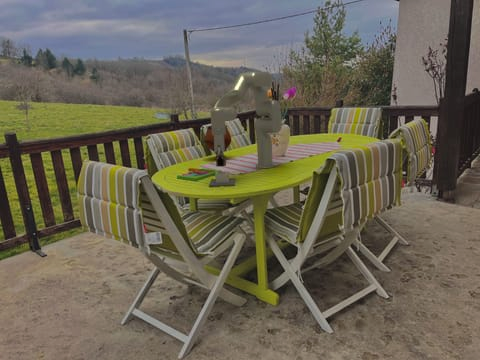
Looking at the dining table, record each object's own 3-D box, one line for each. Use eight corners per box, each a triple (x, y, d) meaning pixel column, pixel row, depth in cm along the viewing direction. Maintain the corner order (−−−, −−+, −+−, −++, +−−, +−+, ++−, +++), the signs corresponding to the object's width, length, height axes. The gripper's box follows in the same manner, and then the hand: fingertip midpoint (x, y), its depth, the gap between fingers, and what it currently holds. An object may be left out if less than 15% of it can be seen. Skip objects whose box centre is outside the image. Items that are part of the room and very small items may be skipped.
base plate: (211, 180, 214) (211, 179, 213) (235, 179, 213) (235, 177, 213) (208, 187, 200) (208, 185, 200) (234, 185, 199) (234, 184, 199)
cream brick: (216, 180, 209) (216, 172, 208) (229, 180, 209) (228, 171, 207) (216, 182, 204) (215, 174, 203) (228, 182, 204) (228, 173, 203)
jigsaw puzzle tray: (221, 174, 232) (193, 170, 247) (221, 170, 231) (193, 167, 246) (195, 182, 215) (167, 177, 230) (195, 178, 214) (166, 174, 229)
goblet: (202, 160, 278) (199, 126, 272) (224, 156, 288) (221, 124, 282) (214, 163, 262) (211, 128, 256) (237, 159, 272) (235, 125, 266)
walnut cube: (217, 164, 207) (216, 155, 205) (226, 164, 206) (225, 155, 205) (216, 166, 202) (215, 157, 200) (225, 166, 201) (224, 157, 200)
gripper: (213, 130, 208) (215, 162, 212) (210, 134, 191) (212, 168, 196) (226, 129, 208) (229, 161, 212) (224, 133, 191) (226, 167, 195)
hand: (221, 164), depth 204 cm, fingers closed on walnut cube, 5 cm apart
